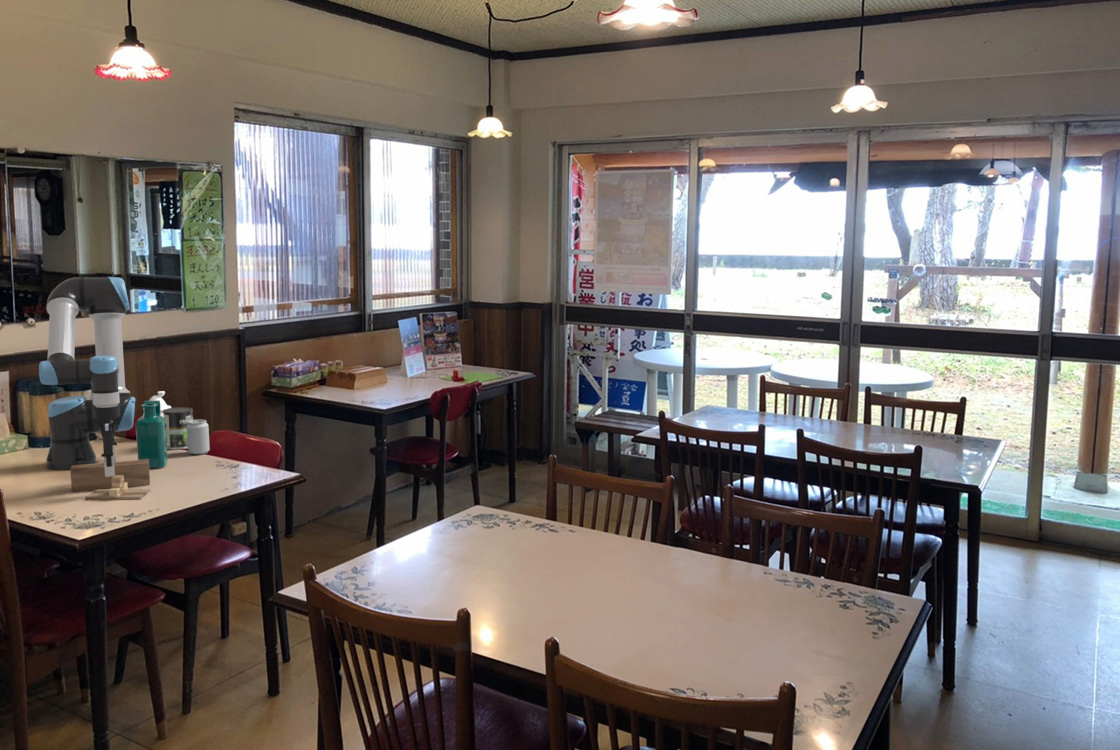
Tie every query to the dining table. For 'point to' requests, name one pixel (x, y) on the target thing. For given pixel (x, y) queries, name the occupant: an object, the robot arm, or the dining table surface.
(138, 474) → the beam
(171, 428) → the coffee can
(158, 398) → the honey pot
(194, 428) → the can
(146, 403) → the green bottle
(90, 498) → the fulcrum
